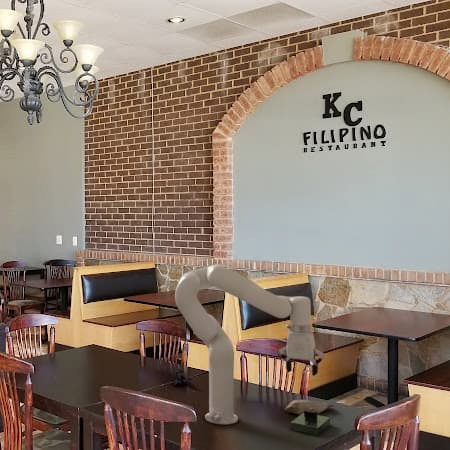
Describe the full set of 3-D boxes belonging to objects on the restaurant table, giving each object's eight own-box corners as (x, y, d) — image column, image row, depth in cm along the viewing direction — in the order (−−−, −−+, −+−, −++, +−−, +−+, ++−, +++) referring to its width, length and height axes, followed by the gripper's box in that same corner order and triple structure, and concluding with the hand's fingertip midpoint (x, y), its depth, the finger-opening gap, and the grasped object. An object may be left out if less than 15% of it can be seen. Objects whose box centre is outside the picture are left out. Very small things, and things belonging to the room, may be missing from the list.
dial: (315, 422, 229) (315, 412, 229) (302, 420, 232) (302, 409, 232) (319, 419, 233) (319, 409, 233) (306, 416, 236) (306, 406, 236)
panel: (317, 435, 224) (318, 427, 224) (290, 430, 230) (290, 421, 230) (330, 425, 235) (330, 417, 235) (303, 420, 241) (303, 412, 241)
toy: (180, 388, 284) (166, 380, 298) (195, 388, 286) (181, 380, 301) (181, 374, 284) (167, 367, 299) (196, 374, 287) (182, 367, 301)
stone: (290, 405, 245) (282, 390, 254) (286, 418, 247) (278, 403, 257) (340, 409, 247) (330, 394, 256) (336, 422, 249) (326, 406, 259)
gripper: (275, 328, 239) (276, 372, 239) (320, 332, 228) (321, 378, 228) (282, 325, 245) (283, 368, 245) (326, 329, 234) (327, 374, 234)
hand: (301, 373), depth 237 cm, fingers open, 9 cm apart
